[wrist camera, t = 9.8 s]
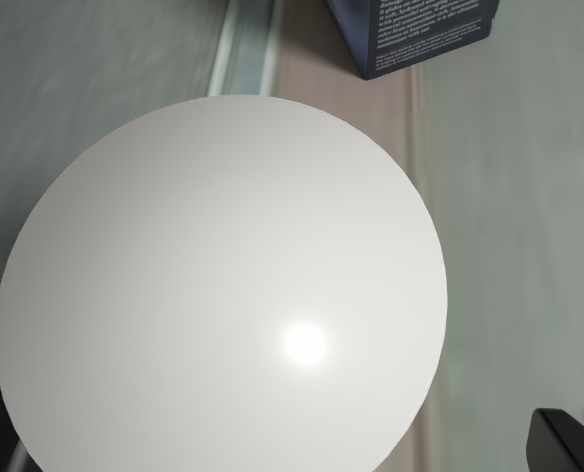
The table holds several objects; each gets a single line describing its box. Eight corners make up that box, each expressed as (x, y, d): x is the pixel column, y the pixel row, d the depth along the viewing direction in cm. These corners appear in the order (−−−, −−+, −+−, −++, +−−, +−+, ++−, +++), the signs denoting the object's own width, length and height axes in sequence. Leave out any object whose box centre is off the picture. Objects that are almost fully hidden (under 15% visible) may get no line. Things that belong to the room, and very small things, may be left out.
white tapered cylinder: (371, 484, 16) (440, 588, 4) (220, 461, 17) (-78, 497, 5) (382, 329, 18) (451, 103, 6) (245, 314, 19) (69, 86, 7)
